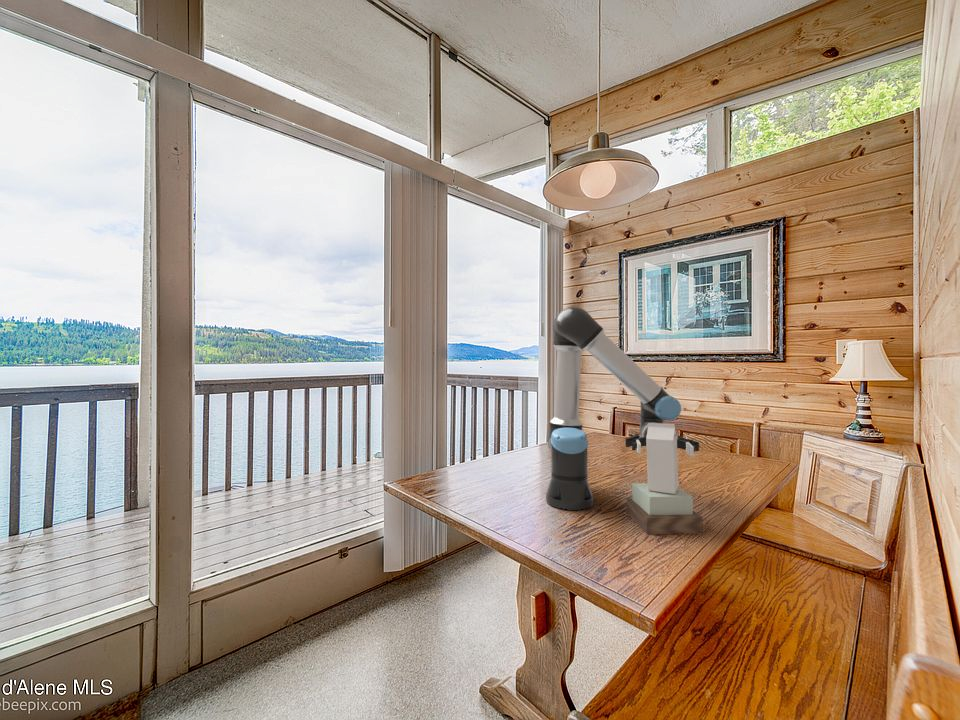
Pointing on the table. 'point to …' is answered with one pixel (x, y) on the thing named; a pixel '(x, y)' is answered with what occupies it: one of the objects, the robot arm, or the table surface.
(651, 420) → the robot arm
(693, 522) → the tower base
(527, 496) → the table surface
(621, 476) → the table surface
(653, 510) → the tower top
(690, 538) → the table surface
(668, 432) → the milk carton
